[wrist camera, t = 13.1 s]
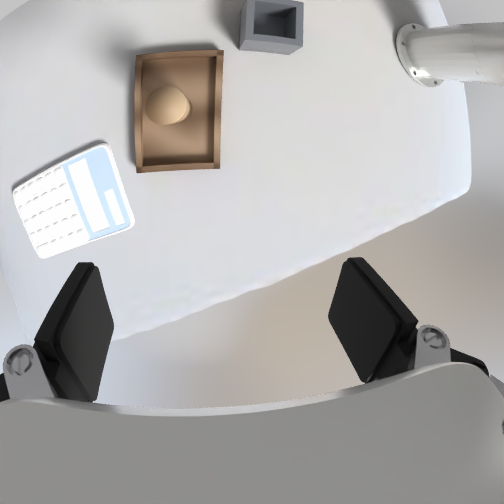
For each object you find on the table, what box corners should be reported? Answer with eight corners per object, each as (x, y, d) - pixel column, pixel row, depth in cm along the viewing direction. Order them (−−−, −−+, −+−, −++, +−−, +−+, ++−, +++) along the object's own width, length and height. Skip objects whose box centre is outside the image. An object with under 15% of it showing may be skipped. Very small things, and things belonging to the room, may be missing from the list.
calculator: (14, 188, 30) (8, 191, 28) (110, 139, 31) (105, 140, 29) (43, 256, 37) (39, 262, 35) (138, 223, 38) (135, 228, 36)
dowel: (192, 95, 30) (186, 84, 19) (191, 121, 31) (185, 123, 21) (164, 97, 29) (145, 87, 19) (164, 123, 31) (145, 126, 20)
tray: (139, 58, 26) (136, 55, 24) (222, 53, 28) (223, 50, 26) (139, 170, 34) (136, 173, 32) (219, 165, 36) (219, 168, 34)
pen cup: (290, 15, 26) (303, 2, 21) (288, 54, 29) (302, 46, 24) (241, 9, 25) (247, -6, 20) (238, 50, 28) (245, 39, 23)
